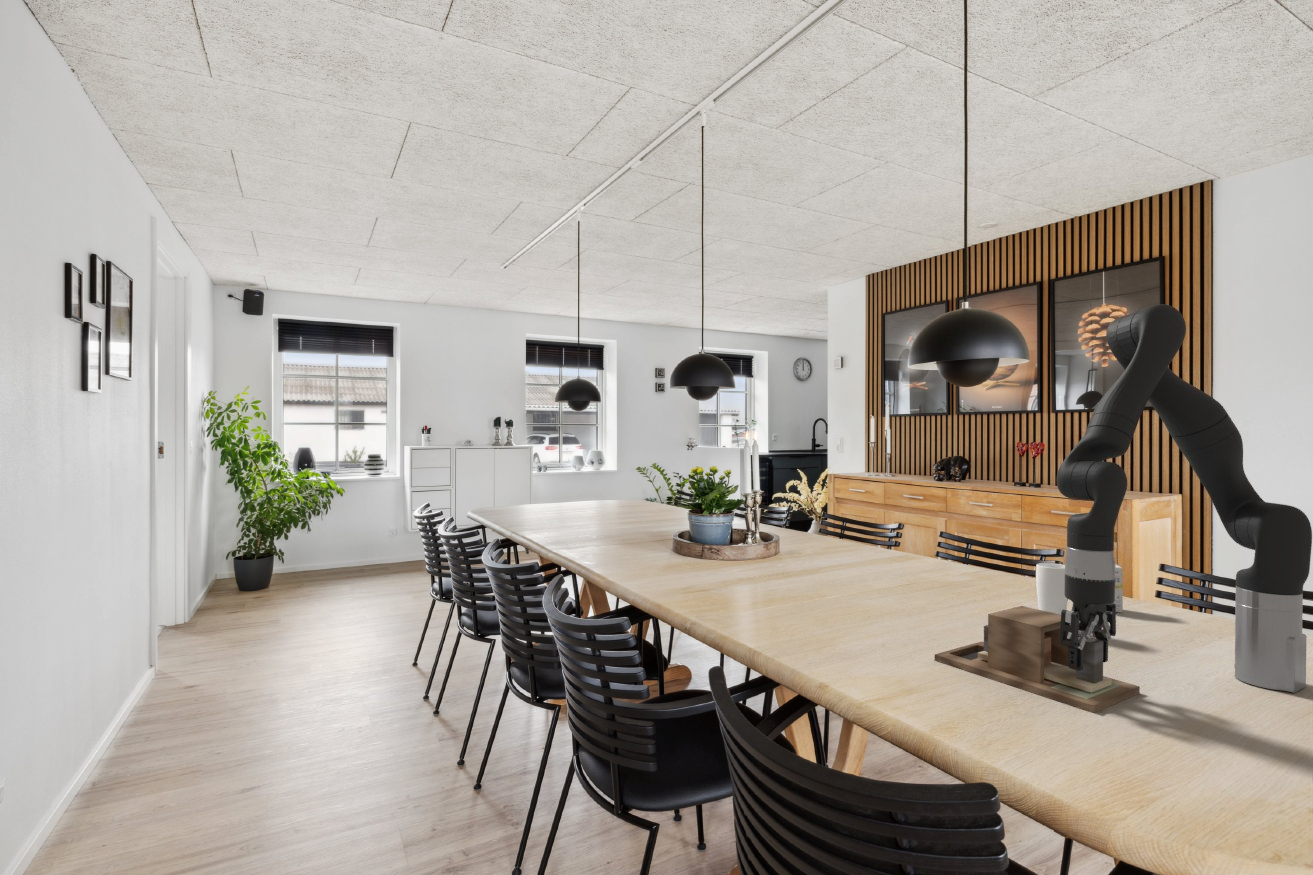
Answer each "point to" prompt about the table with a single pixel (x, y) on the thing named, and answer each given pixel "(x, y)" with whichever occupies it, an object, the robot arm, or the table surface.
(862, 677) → the table surface
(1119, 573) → the ink box
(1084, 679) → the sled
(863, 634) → the table surface
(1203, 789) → the table surface
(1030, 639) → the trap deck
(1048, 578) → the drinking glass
